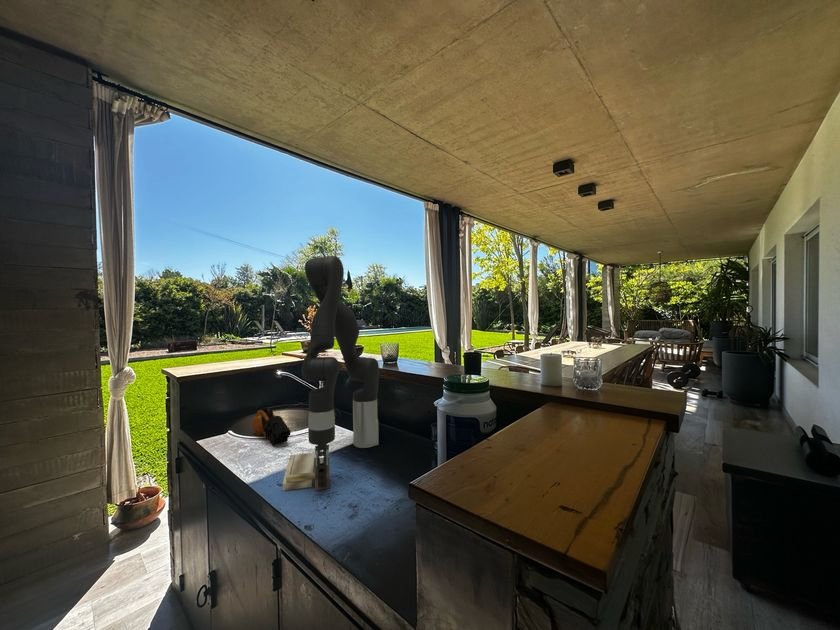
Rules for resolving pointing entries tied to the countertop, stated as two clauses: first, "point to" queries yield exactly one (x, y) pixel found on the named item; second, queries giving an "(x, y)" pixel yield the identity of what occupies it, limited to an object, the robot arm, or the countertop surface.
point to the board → (299, 470)
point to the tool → (271, 426)
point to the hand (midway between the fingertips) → (322, 481)
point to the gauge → (311, 477)
